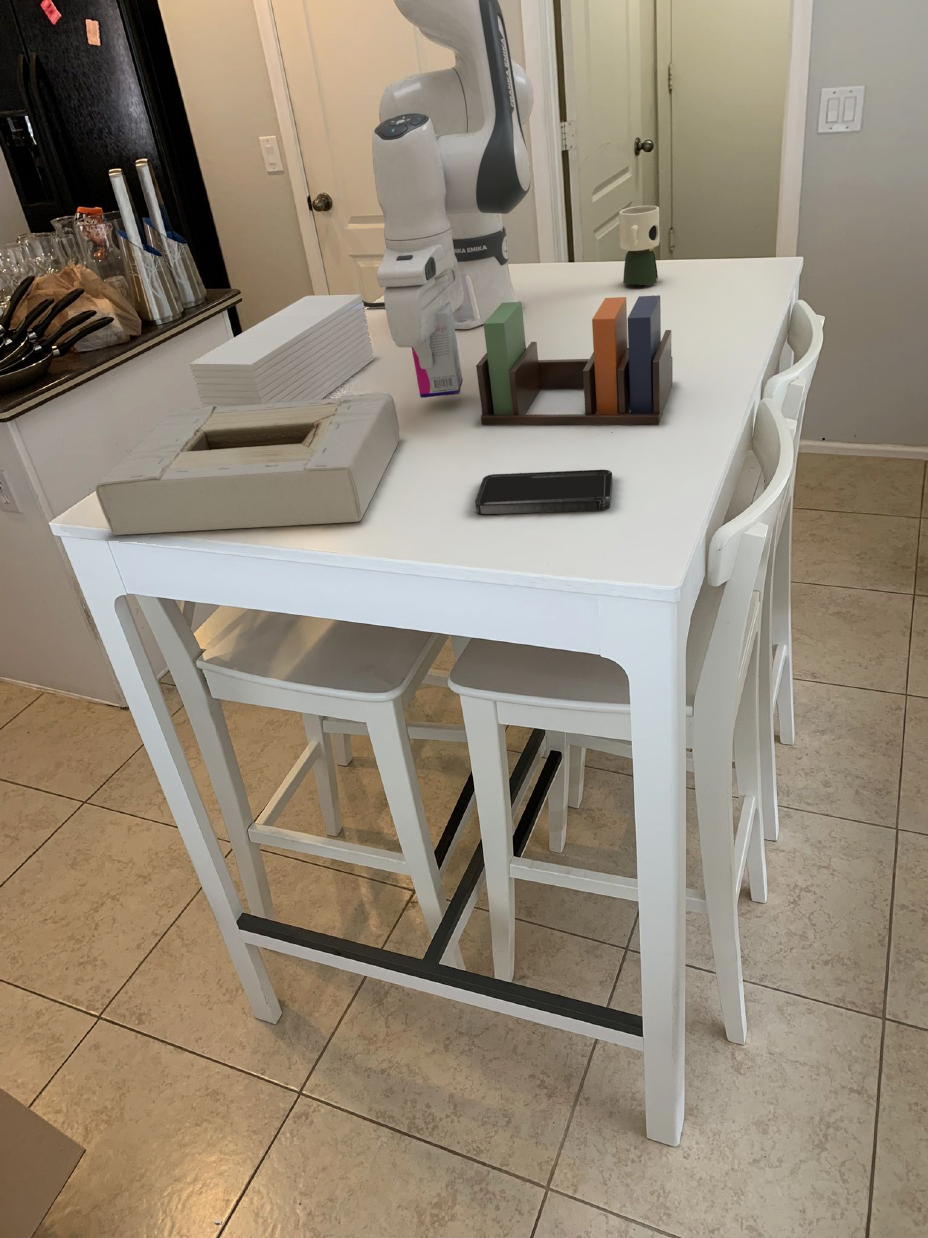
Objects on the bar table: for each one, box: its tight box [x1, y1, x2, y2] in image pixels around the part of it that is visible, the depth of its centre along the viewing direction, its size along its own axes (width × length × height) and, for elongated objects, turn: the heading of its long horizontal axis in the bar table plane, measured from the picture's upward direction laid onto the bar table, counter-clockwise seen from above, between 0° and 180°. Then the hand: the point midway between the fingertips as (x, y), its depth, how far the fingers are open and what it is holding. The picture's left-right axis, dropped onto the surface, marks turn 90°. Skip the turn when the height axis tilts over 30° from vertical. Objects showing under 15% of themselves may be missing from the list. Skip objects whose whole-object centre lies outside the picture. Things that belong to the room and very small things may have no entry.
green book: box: [482, 301, 527, 415], centre depth 124 cm, size 3×9×13 cm, turn 162°
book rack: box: [475, 329, 674, 426], centre depth 122 cm, size 24×14×8 cm, turn 72°
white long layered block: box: [188, 294, 375, 407], centre depth 140 cm, size 32×11×11 cm, turn 157°
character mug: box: [618, 204, 661, 287], centre depth 165 cm, size 11×7×13 cm, turn 159°
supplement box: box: [411, 302, 464, 399], centre depth 127 cm, size 6×6×12 cm
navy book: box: [627, 294, 662, 414], centre depth 118 cm, size 3×9×13 cm, turn 162°
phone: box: [474, 469, 613, 515], centre depth 103 cm, size 8×1×15 cm
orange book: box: [591, 296, 628, 414], centre depth 119 cm, size 3×9×13 cm, turn 162°
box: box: [95, 392, 401, 536], centre depth 114 cm, size 23×8×32 cm
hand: (436, 357), depth 128 cm, fingers closed on supplement box, 6 cm apart
